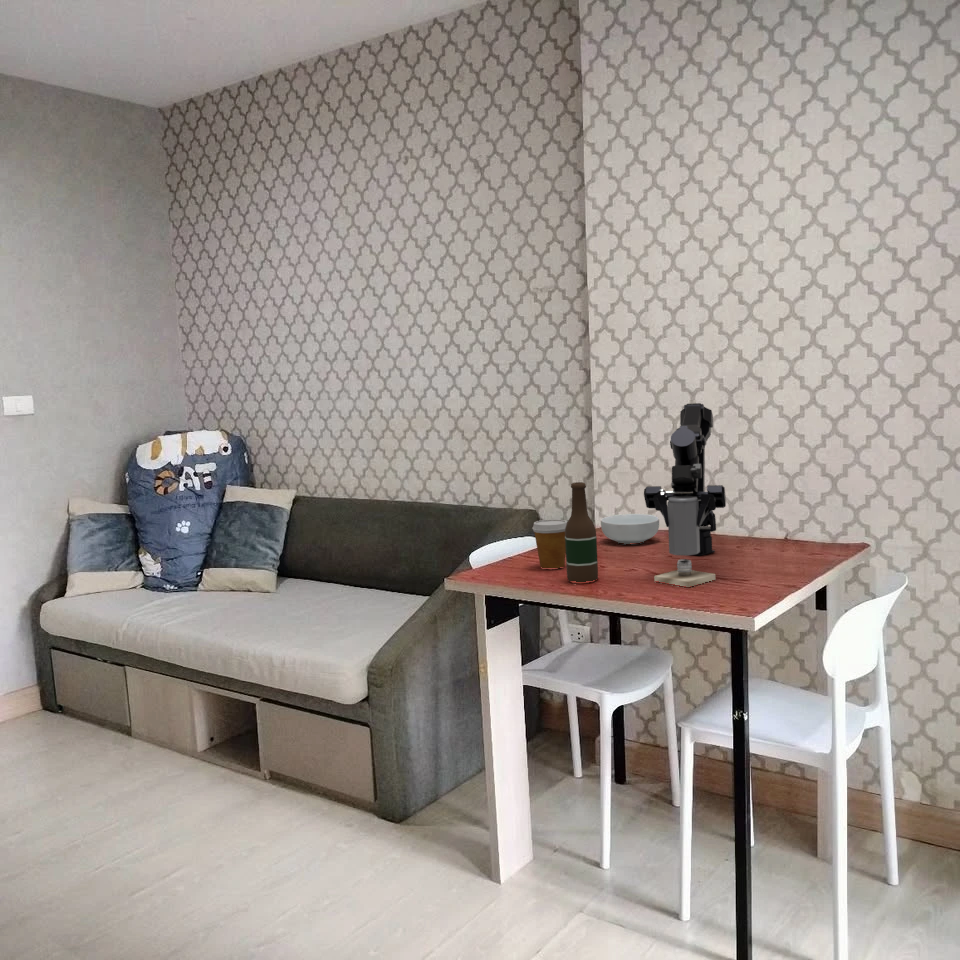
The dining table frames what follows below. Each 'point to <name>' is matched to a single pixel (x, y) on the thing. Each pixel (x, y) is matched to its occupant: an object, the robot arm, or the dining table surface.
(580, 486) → the beer bottle
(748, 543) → the dining table surface
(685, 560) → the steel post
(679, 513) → the charcoal can
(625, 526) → the cereal bowl
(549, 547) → the disposable coffee cup
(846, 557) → the dining table surface
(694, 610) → the dining table surface
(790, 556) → the dining table surface
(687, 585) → the birch base
